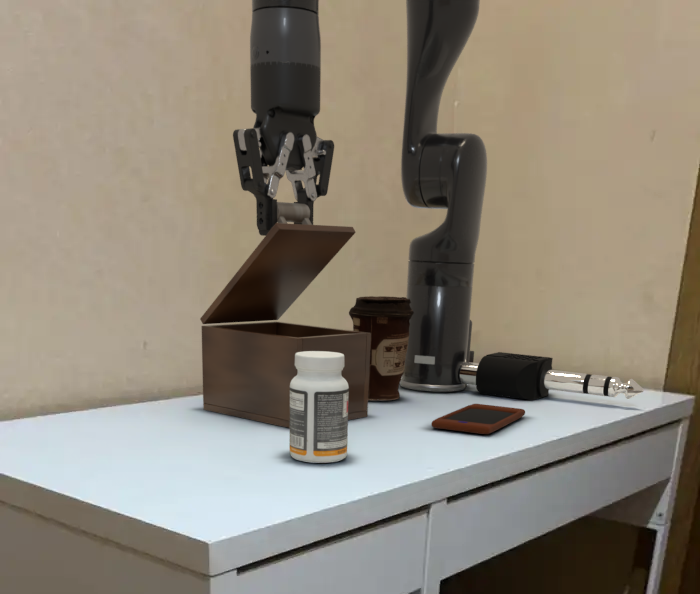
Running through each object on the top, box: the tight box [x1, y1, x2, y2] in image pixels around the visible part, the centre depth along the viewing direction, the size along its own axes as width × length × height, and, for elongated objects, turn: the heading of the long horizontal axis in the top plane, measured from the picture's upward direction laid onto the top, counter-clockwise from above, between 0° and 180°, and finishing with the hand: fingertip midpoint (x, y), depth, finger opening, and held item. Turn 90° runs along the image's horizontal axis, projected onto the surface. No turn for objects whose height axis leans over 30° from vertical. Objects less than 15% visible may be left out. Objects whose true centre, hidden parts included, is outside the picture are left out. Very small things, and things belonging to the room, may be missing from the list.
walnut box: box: [201, 320, 371, 429], centre depth 112 cm, size 16×13×10 cm
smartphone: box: [430, 403, 526, 435], centre depth 112 cm, size 7×1×15 cm
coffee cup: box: [348, 295, 414, 401], centre depth 124 cm, size 9×8×13 cm
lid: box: [199, 201, 356, 325], centre depth 109 cm, size 16×13×5 cm
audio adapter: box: [459, 351, 644, 401], centre depth 131 cm, size 11×5×25 cm
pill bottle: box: [288, 351, 349, 464], centre depth 90 cm, size 6×6×10 cm
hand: (285, 235), depth 106 cm, fingers closed on lid, 5 cm apart
